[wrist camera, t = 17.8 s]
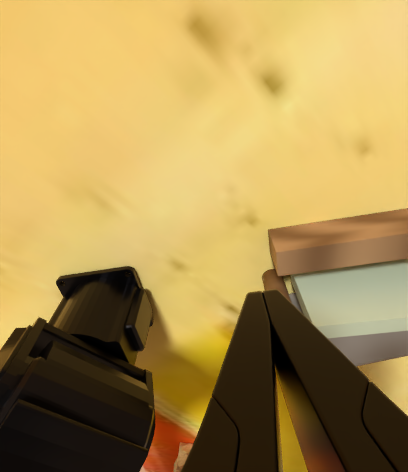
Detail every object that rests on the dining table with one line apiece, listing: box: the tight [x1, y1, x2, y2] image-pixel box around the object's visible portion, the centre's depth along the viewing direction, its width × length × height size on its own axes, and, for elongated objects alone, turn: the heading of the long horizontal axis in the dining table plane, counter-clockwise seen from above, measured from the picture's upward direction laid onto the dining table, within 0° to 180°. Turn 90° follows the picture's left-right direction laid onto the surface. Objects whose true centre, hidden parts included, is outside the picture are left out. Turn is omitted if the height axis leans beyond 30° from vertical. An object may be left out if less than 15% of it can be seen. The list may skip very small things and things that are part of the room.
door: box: [291, 259, 408, 338], centre depth 21 cm, size 11×2×6 cm, turn 99°
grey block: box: [289, 293, 408, 366], centre depth 24 cm, size 10×5×4 cm, turn 110°
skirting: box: [268, 208, 408, 276], centre depth 20 cm, size 18×2×3 cm, turn 100°
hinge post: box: [262, 269, 292, 303], centre depth 22 cm, size 2×2×6 cm
